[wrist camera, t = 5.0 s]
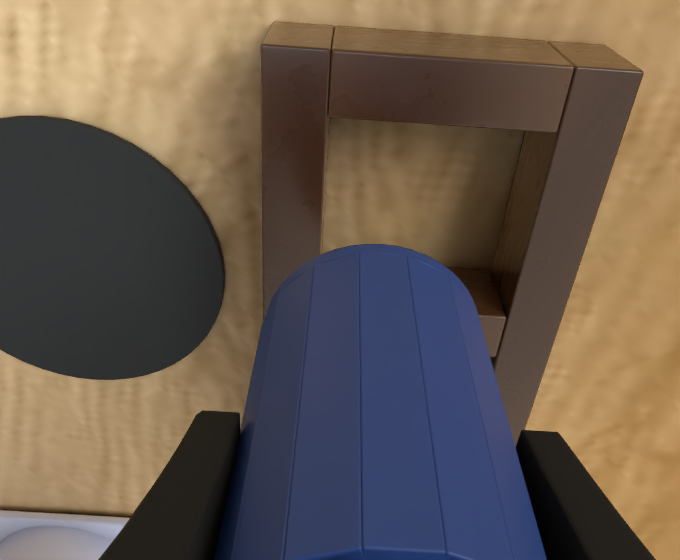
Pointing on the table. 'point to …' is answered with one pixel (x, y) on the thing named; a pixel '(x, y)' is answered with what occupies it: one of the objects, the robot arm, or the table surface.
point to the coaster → (99, 254)
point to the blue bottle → (375, 423)
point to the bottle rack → (456, 110)
